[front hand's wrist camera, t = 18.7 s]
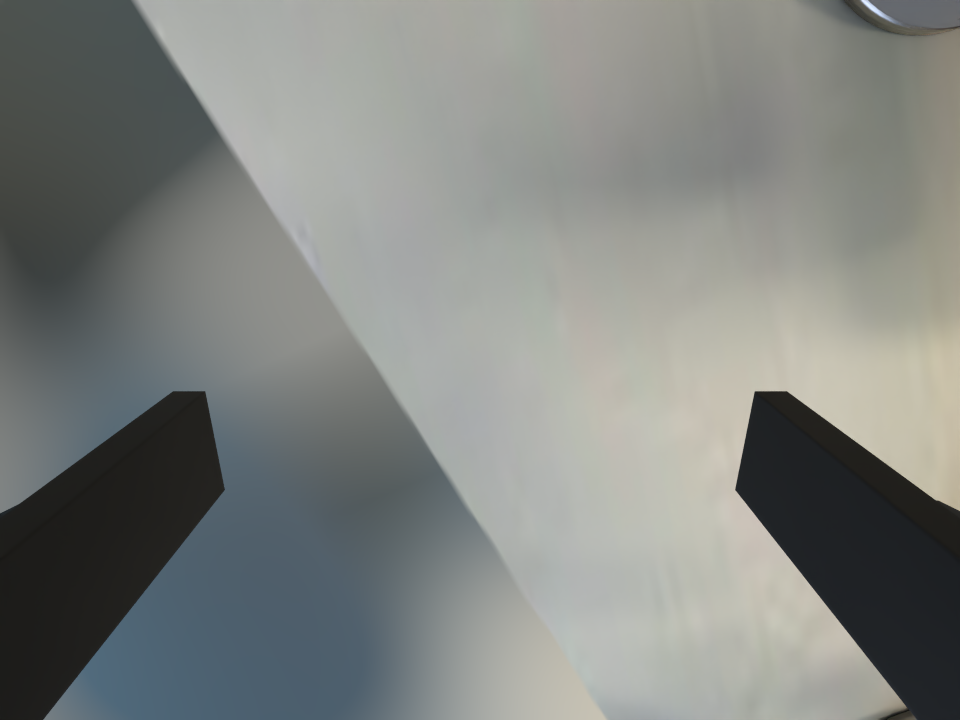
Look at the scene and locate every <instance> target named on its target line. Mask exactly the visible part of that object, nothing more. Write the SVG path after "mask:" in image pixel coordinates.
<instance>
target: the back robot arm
mask: <svg viewBox="0 0 960 720" xmlns="http://www.w3.org/2000/svg"><path fill="white" fill-rule="evenodd" d="M887 720H917V719H916V718H915V717H914V715H913V714H912V713H911V712H910V711H908V712H904V713H901V714H898V715H896V716H893V717H891V718H889V719H887Z"/></svg>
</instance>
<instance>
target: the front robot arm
mask: <svg viewBox="0 0 960 720" xmlns="http://www.w3.org/2000/svg"><path fill="white" fill-rule="evenodd" d="M844 1H845V2H846V3H847V5H848V6H849V7H850V8H851V9H852V10H853V11H854V12H855V13H857V14H858V15H859V16H860V17H862V18H863V19H864V20H866V21H867V22H869V23H871V24H873V25H875V26H877V27H879V28H881V29H884V30H887V31H890V32H894V33H898V34H905V35H930V34H938V33H942V32H947V31H951V30H954V29H958V28H960V0H844ZM224 490H225V489H224V484H223V479H222V474H221V469H220V464H219V459H218V454H217V449H216V444H215V438H214V434H213V428H212V423H211V418H210V413H209V408H208V403H207V398H206V393H205V391H173V392H172V393H170V394H169V395H168V396H166V397H165V398H163V399H162V400H161V401H159V402H158V403H157V404H155V405H154V406H153V407H151V408H150V409H149V410H147V411H146V412H144V413H143V414H142V415H140V416H139V417H138V418H136V419H135V420H133V421H132V422H131V423H129V424H128V425H127V426H125V427H124V428H123V429H121V430H120V431H118V432H117V433H116V434H114V435H113V436H112V437H110V438H109V439H108V440H106V441H105V442H103V443H102V444H101V445H99V446H98V447H97V448H95V449H94V450H92V451H91V452H90V453H88V454H87V455H86V456H84V457H83V458H82V459H80V460H79V461H77V462H76V463H75V464H73V465H72V466H71V467H69V468H68V469H67V470H65V471H64V472H63V473H61V474H60V475H58V476H57V477H56V478H54V479H53V480H52V481H50V482H49V483H47V484H46V485H45V486H43V487H42V488H41V489H39V490H38V491H37V492H35V493H34V494H32V495H31V496H30V497H28V498H27V499H26V500H24V501H23V502H21V503H20V504H18V505H16V506H14V507H12V508H10V509H8V510H6V511H4V512H2V513H0V720H43V719H44V718H45V717H46V715H47V714H48V713H49V712H50V710H51V709H52V708H53V707H54V705H55V704H56V703H57V701H58V700H59V699H60V698H61V696H62V695H63V694H64V693H65V691H66V690H67V689H68V687H69V686H70V685H71V684H72V682H73V681H74V680H75V679H76V677H77V676H78V675H79V674H80V672H81V671H82V670H83V669H84V667H85V666H86V665H87V663H88V662H89V661H90V660H91V658H92V657H93V656H94V655H95V653H96V652H97V651H98V650H99V648H100V647H101V646H102V644H103V643H104V642H105V641H106V639H107V638H108V637H109V636H110V634H111V633H112V632H113V631H114V629H115V628H116V627H117V626H118V624H119V623H120V622H121V620H122V619H123V618H124V617H125V615H126V614H127V613H128V612H129V610H130V609H131V608H132V606H133V605H134V604H135V603H136V601H137V600H138V599H139V598H140V596H141V595H142V594H143V593H144V591H145V590H146V589H147V588H148V586H149V585H150V584H151V582H152V581H153V580H154V579H155V577H156V576H157V575H158V574H159V572H160V571H161V570H162V569H163V567H164V566H165V565H166V563H167V562H168V561H169V560H170V558H171V557H172V556H173V555H174V553H175V552H176V551H177V550H178V548H179V547H180V546H181V544H182V543H183V542H184V541H185V539H186V538H187V537H188V536H189V534H190V533H191V532H192V531H193V529H194V528H195V527H196V525H197V524H198V523H199V522H200V520H201V519H202V518H203V517H204V515H205V514H206V513H207V512H208V510H209V509H210V508H211V506H212V505H213V504H214V503H215V501H216V500H217V499H218V498H219V496H220V495H221V494H222V493H223V491H224ZM735 490H736V491H737V493H738V494H739V495H740V496H741V498H742V499H743V500H744V501H745V503H746V504H747V505H748V507H749V508H750V509H751V510H752V512H753V513H754V514H755V515H756V517H757V518H758V519H759V520H760V522H761V523H762V524H763V526H764V527H765V528H766V529H767V531H768V532H769V533H770V534H771V536H772V537H773V538H774V539H775V541H776V542H777V543H778V545H779V546H780V547H781V548H782V550H783V551H784V552H785V553H786V555H787V556H788V557H789V558H790V560H791V561H792V562H793V563H794V565H795V566H796V567H797V569H798V570H799V571H800V572H801V574H802V575H803V576H804V577H805V579H806V580H807V581H808V582H809V584H810V585H811V586H812V588H813V589H814V590H815V591H816V593H817V594H818V595H819V596H820V598H821V599H822V600H823V601H824V603H825V604H826V605H827V607H828V608H829V609H830V610H831V612H832V613H833V614H834V615H835V617H836V618H837V619H838V620H839V622H840V623H841V624H842V626H843V627H844V628H845V629H846V631H847V632H848V633H849V634H850V636H851V637H852V638H853V639H854V641H855V642H856V643H857V644H858V646H859V647H860V648H861V650H862V651H863V652H864V653H865V655H866V656H867V657H868V658H869V660H870V661H871V662H872V663H873V665H874V666H875V667H876V669H877V670H878V671H879V672H880V674H881V675H882V676H883V677H884V679H885V680H886V681H887V682H888V684H889V685H890V686H891V688H892V689H893V690H894V691H895V693H896V694H897V695H898V696H899V698H900V699H901V700H902V701H903V703H904V704H905V705H906V707H907V708H908V709H909V710H910V712H911V713H912V714H913V715H914V717H915V718H916V719H917V720H960V511H958V510H956V509H954V508H952V507H950V506H948V505H946V504H944V503H942V502H940V501H936V500H934V499H933V498H932V497H930V496H929V495H928V494H926V493H925V492H924V491H922V490H921V489H919V488H918V487H917V486H915V485H914V484H913V483H911V482H910V481H908V480H907V479H906V478H904V477H903V476H902V475H900V474H899V473H898V472H896V471H895V470H893V469H892V468H891V467H889V466H888V465H887V464H885V463H884V462H883V461H881V460H880V459H878V458H877V457H876V456H874V455H873V454H872V453H870V452H869V451H868V450H866V449H865V448H863V447H862V446H861V445H859V444H858V443H857V442H855V441H854V440H853V439H851V438H850V437H848V436H847V435H846V434H844V433H843V432H842V431H840V430H839V429H837V428H836V427H835V426H833V425H832V424H831V423H829V422H828V421H827V420H825V419H824V418H822V417H821V416H820V415H818V414H817V413H816V412H814V411H813V410H812V409H810V408H809V407H807V406H806V405H805V404H803V403H802V402H801V401H799V400H798V399H797V398H795V397H794V396H792V395H791V394H790V393H788V392H787V391H755V393H754V398H753V403H752V408H751V413H750V418H749V423H748V428H747V433H746V438H745V443H744V449H743V454H742V459H741V464H740V469H739V474H738V479H737V484H736V489H735Z"/></svg>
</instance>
